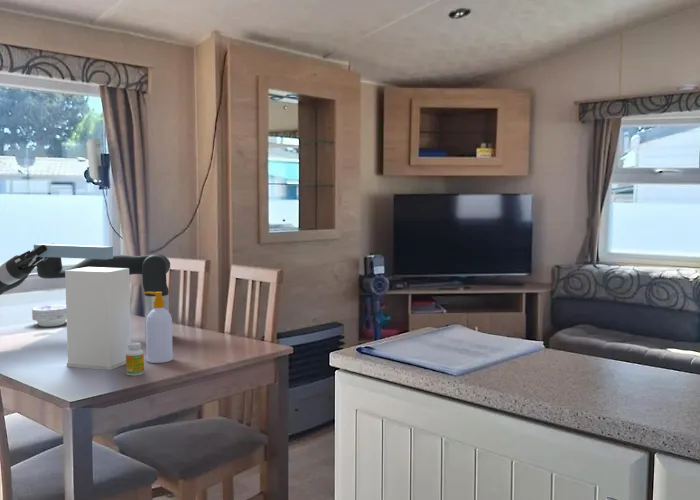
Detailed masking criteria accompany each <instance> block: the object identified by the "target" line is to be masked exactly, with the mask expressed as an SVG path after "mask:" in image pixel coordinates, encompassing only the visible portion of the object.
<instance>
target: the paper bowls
mask: <svg viewBox="0 0 700 500" xmlns="http://www.w3.org/2000/svg"><path fill="white" fill-rule="evenodd" d="M31 315H32V317H31V318H32V320H33V321H36V322H37V324H38V326H40V327H47V328H48V327H59V326H62V325H64V324H65V323H66V322H67V315H66V304H51V305H41V306H36V307H33V308H32V309H31Z"/></svg>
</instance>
